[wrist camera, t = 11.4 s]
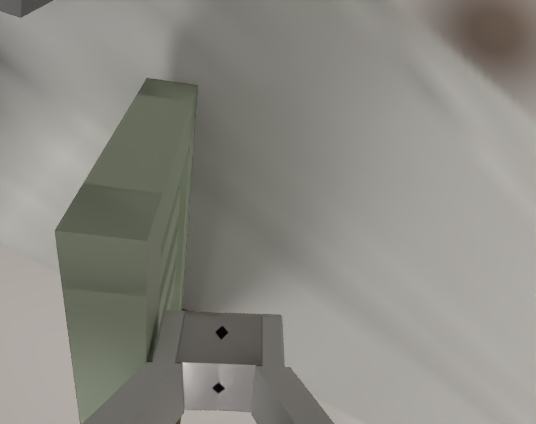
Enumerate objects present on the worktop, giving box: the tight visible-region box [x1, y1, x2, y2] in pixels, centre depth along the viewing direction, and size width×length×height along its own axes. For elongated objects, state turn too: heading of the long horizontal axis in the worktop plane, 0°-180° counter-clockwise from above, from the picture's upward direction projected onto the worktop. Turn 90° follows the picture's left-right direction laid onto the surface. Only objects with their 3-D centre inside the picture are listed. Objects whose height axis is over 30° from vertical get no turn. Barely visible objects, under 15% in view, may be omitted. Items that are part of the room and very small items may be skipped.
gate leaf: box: [55, 78, 198, 424], centre depth 15 cm, size 2×10×8 cm, turn 171°
